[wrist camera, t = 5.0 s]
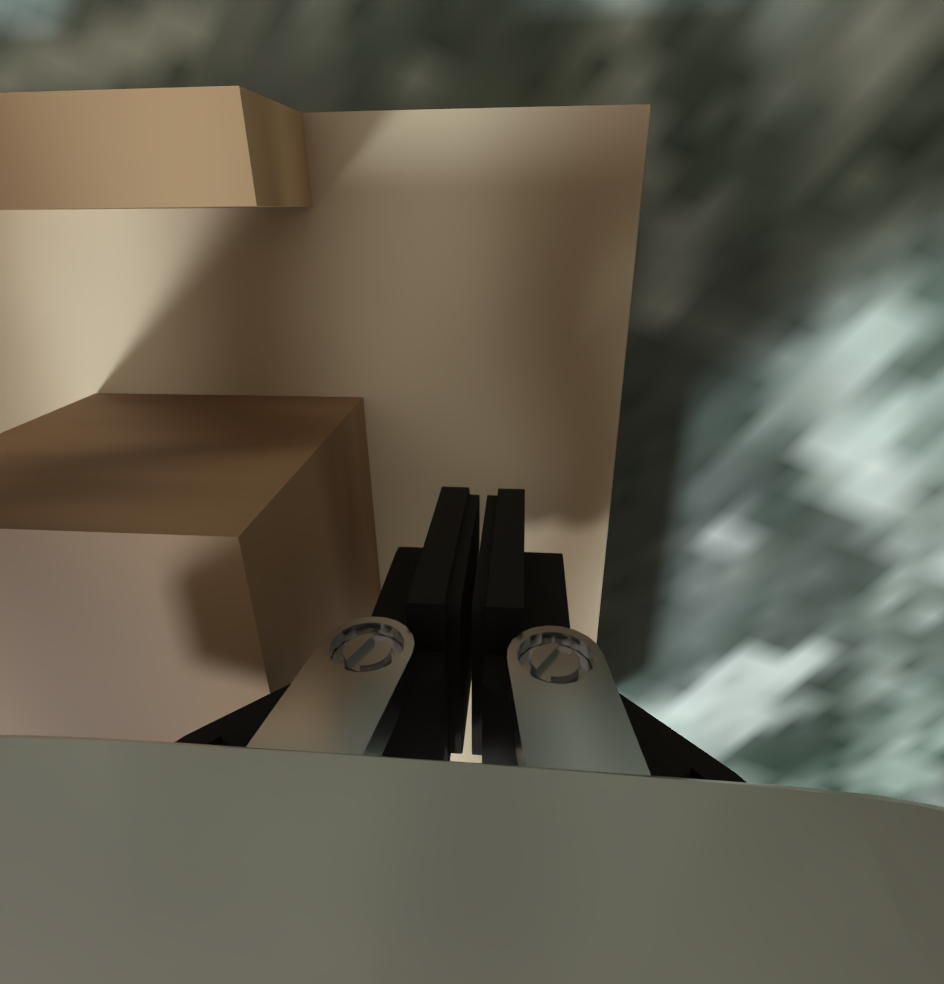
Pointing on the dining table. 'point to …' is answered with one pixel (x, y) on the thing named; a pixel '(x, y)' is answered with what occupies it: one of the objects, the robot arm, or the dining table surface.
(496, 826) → the robot arm
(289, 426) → the light brown block
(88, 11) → the dining table surface
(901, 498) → the dining table surface
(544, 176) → the tan puzzle board
